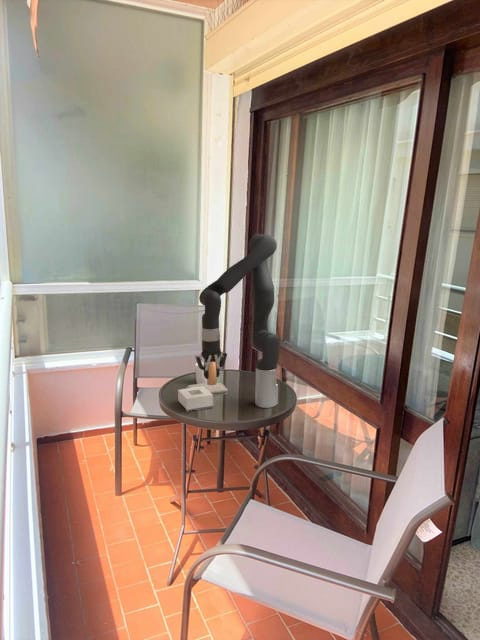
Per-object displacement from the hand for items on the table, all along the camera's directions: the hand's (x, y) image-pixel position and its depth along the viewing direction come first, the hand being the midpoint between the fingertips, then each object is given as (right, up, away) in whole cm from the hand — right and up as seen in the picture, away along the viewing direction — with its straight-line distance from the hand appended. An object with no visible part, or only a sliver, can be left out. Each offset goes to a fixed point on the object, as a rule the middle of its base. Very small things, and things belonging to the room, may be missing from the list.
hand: (211, 377), depth 203 cm
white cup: (-7, -8, +41) cm, 42 cm away
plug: (0, -3, +1) cm, 3 cm away
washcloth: (-4, -11, +29) cm, 31 cm away
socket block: (-8, -14, +13) cm, 20 cm away
